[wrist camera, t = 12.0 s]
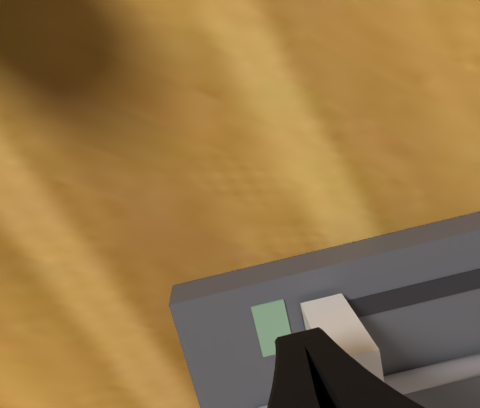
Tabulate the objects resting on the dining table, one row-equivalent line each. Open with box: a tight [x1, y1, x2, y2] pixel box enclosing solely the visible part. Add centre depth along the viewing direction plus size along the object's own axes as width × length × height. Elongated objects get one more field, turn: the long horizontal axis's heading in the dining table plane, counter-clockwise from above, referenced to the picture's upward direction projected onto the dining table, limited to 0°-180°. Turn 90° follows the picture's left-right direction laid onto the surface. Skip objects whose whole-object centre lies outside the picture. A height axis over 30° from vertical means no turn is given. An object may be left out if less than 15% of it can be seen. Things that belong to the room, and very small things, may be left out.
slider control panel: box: [169, 212, 480, 408], centre depth 21 cm, size 20×14×3 cm
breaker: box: [300, 293, 384, 382], centre depth 17 cm, size 2×2×4 cm
